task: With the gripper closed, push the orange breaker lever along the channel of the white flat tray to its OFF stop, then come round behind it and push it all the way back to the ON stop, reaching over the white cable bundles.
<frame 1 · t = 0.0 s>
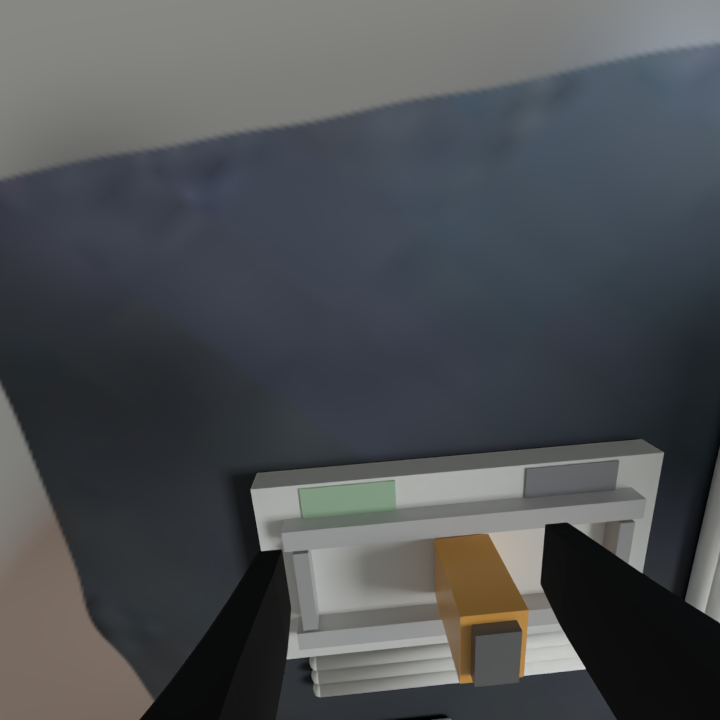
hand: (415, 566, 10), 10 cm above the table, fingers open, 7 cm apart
breaker lever: (477, 606, 18), point 4 cm above the table, slide at 0.0 cm
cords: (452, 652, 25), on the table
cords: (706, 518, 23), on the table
white flat tray: (452, 542, 22), on the table
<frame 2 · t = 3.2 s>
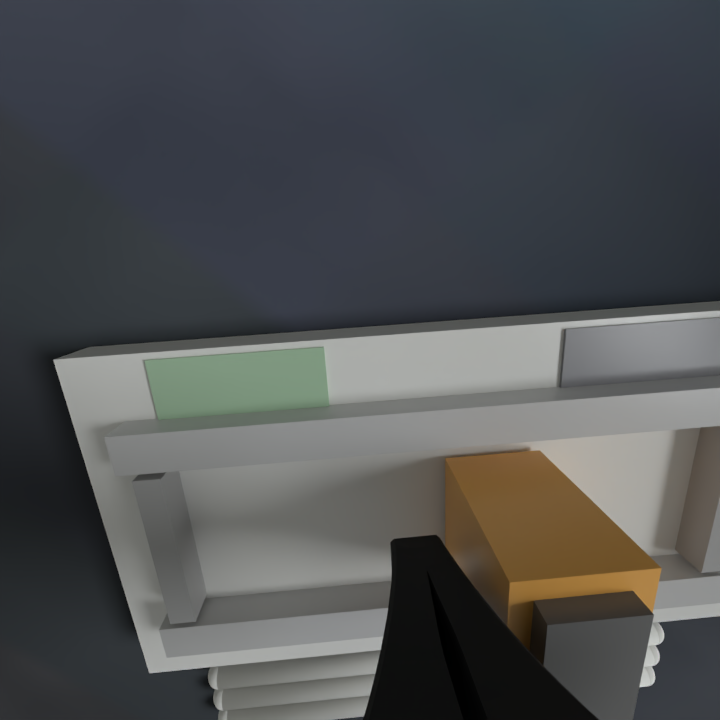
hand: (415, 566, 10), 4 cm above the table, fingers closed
breaker lever: (528, 572, 9), point 4 cm above the table, slide at -1.4 cm, touching gripper
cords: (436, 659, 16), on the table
white flat tray: (434, 481, 13), on the table
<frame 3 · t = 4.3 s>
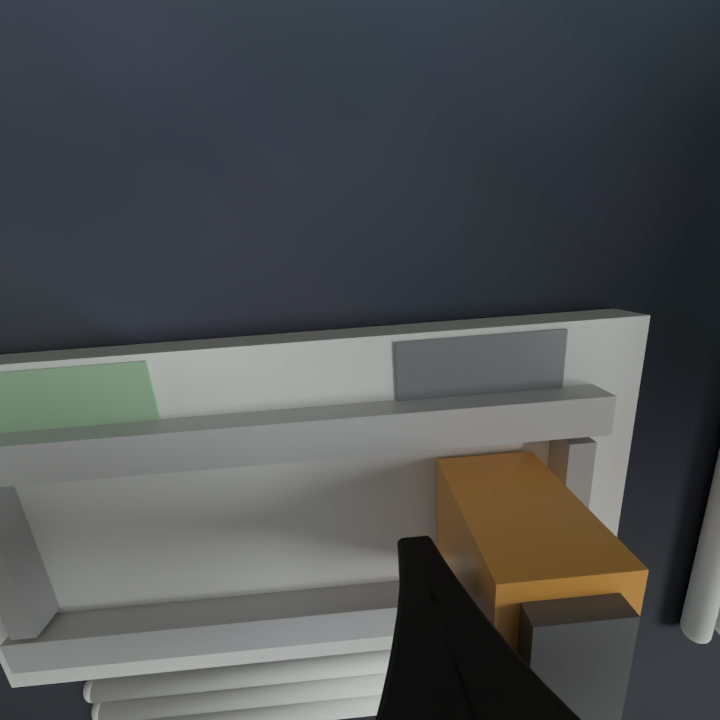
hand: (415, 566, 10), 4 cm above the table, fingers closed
breaker lever: (518, 573, 9), point 4 cm above the table, slide at -6.1 cm, touching gripper
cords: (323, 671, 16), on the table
white flat tray: (300, 493, 13), on the table
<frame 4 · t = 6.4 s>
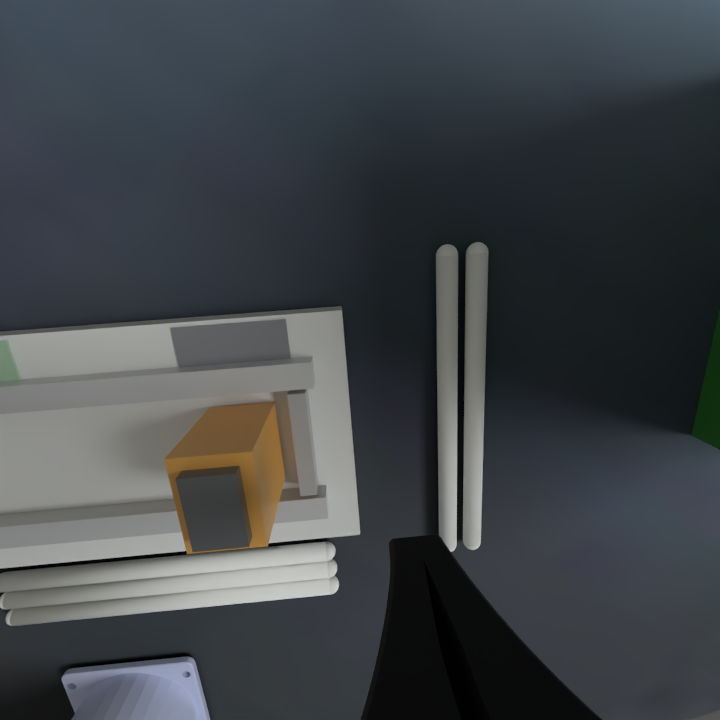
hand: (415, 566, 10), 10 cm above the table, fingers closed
breaker lever: (233, 473, 15), point 4 cm above the table, slide at -6.0 cm
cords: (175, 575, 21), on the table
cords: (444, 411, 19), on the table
white flat tray: (139, 437, 19), on the table
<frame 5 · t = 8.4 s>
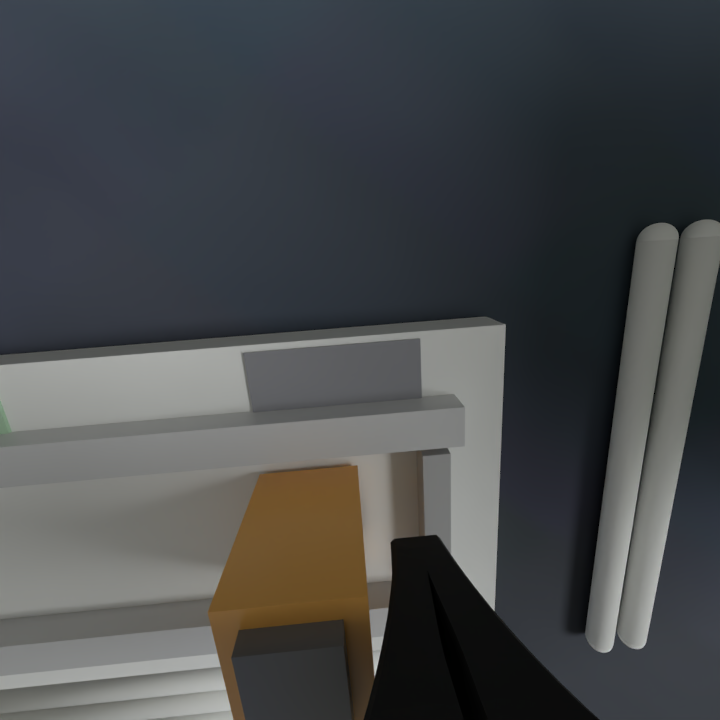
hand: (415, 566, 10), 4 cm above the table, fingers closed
breaker lever: (308, 593, 9), point 4 cm above the table, slide at -4.9 cm, touching gripper
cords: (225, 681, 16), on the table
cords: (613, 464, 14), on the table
white flat tray: (183, 504, 13), on the table
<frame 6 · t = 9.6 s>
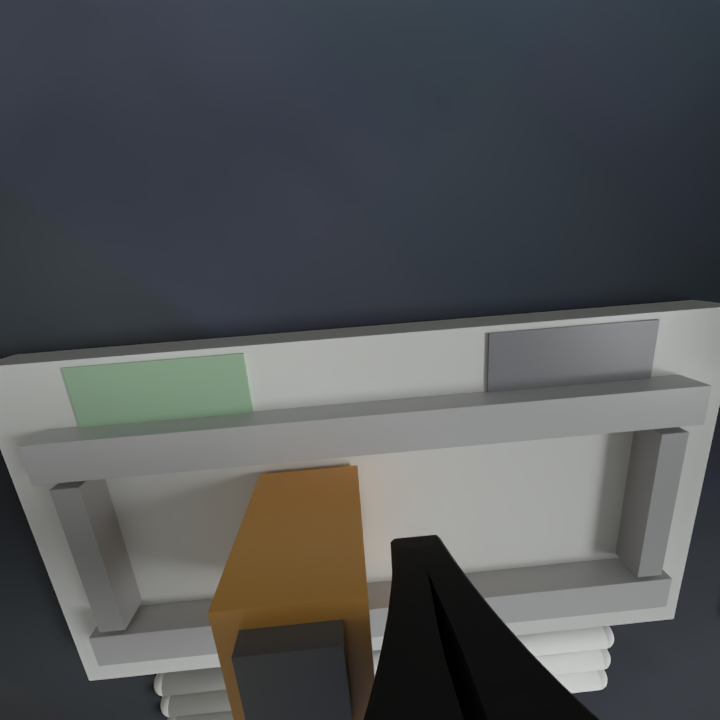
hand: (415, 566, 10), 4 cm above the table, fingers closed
breaker lever: (308, 593, 9), point 4 cm above the table, slide at 2.1 cm, touching gripper
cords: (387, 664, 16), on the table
white flat tray: (374, 486, 13), on the table
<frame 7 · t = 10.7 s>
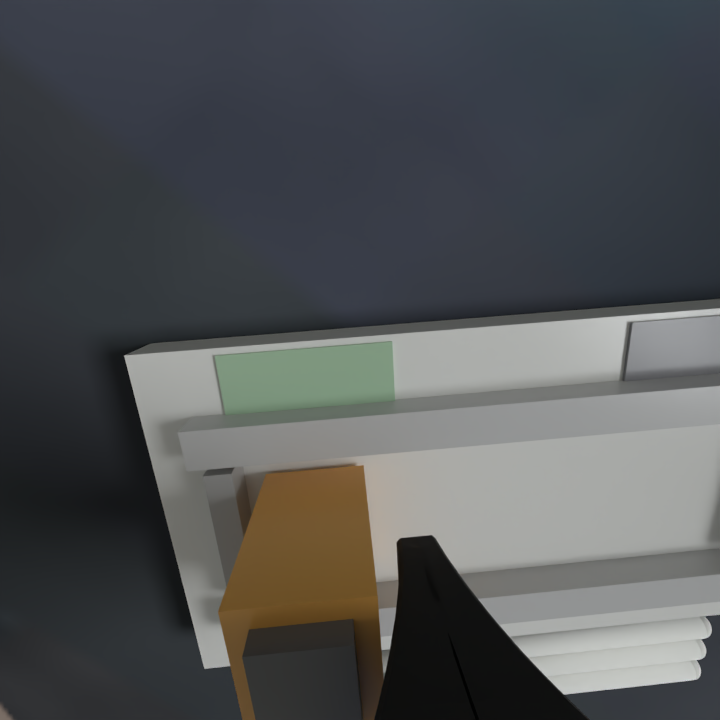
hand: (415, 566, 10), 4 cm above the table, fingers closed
breaker lever: (316, 592, 9), point 4 cm above the table, slide at 6.1 cm, touching gripper
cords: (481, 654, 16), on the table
white flat tray: (486, 476, 14), on the table
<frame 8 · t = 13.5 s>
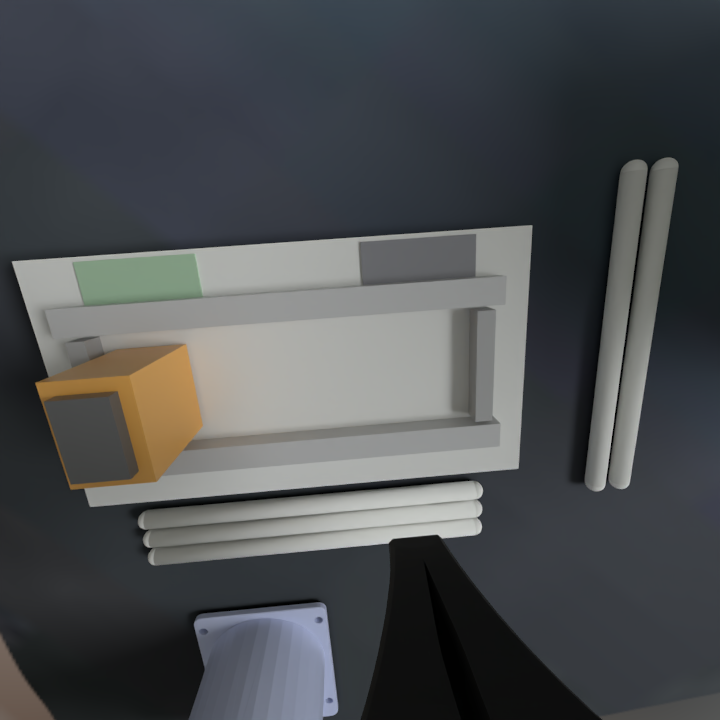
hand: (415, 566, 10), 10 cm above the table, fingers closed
breaker lever: (131, 411, 14), point 4 cm above the table, slide at 6.0 cm
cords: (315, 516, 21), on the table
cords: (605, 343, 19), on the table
white flat tray: (297, 367, 18), on the table
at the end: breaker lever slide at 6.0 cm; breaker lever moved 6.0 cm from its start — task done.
